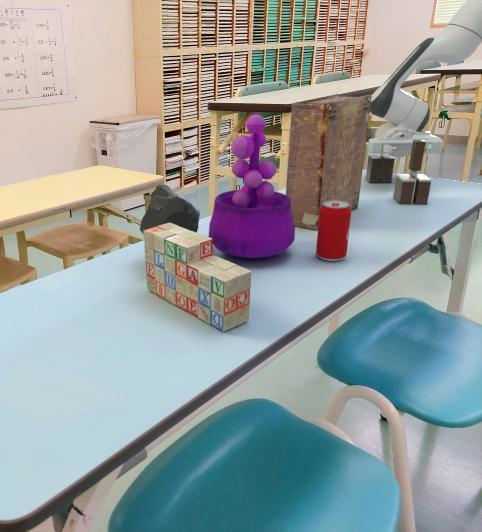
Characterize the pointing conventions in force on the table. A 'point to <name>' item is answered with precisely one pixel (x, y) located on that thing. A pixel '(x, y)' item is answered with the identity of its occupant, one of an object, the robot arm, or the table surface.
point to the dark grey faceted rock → (169, 210)
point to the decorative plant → (252, 204)
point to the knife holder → (380, 168)
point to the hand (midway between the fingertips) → (411, 150)
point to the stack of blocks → (196, 276)
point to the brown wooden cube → (411, 189)
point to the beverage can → (333, 230)
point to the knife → (416, 159)
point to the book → (325, 154)
